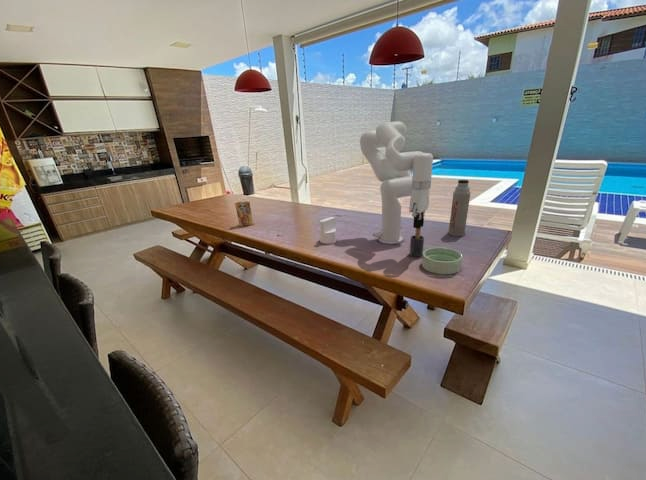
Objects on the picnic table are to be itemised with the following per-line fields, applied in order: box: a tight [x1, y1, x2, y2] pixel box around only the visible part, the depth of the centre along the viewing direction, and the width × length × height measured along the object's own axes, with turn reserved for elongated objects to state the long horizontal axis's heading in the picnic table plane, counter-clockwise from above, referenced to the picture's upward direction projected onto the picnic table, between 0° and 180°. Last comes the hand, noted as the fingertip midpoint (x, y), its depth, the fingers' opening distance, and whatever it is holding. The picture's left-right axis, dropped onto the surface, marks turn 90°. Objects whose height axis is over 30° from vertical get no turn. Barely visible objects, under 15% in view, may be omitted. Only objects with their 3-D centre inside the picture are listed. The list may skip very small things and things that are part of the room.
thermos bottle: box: [448, 179, 471, 237], centre depth 158 cm, size 8×8×28 cm
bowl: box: [421, 246, 464, 275], centre depth 128 cm, size 15×15×6 cm
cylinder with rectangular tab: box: [318, 216, 338, 245], centre depth 163 cm, size 9×9×12 cm
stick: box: [415, 214, 422, 239], centre depth 137 cm, size 2×2×18 cm
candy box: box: [234, 199, 254, 227], centre depth 197 cm, size 9×4×15 cm, turn 103°
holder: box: [409, 235, 425, 258], centre depth 140 cm, size 6×6×9 cm
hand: (418, 226), depth 135 cm, fingers closed on stick, 2 cm apart
